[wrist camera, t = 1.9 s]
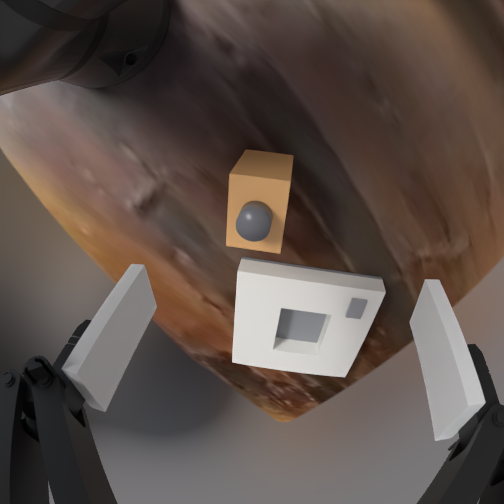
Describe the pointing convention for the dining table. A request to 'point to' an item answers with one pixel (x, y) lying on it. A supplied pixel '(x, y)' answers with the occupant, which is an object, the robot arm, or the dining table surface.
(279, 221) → the plug
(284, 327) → the socket
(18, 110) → the dining table surface
